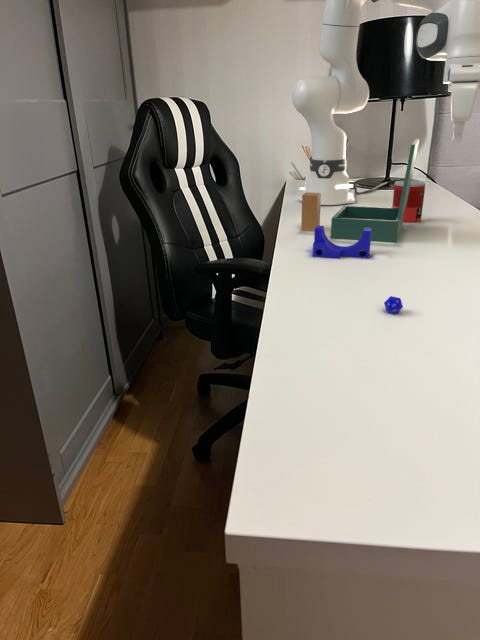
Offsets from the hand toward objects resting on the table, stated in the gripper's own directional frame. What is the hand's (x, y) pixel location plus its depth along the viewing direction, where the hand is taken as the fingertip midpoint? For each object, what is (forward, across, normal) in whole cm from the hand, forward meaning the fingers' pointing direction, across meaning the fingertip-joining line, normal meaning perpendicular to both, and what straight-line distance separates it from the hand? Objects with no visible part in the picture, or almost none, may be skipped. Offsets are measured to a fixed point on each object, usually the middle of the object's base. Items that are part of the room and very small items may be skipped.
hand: (456, 142), depth 112 cm
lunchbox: (+22, 0, -18) cm, 29 cm away
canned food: (+23, -18, -10) cm, 31 cm away
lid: (+8, 0, -10) cm, 13 cm away
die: (+23, +50, -7) cm, 55 cm away
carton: (+22, 0, -33) cm, 40 cm away
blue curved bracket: (+23, +20, -21) cm, 37 cm away
